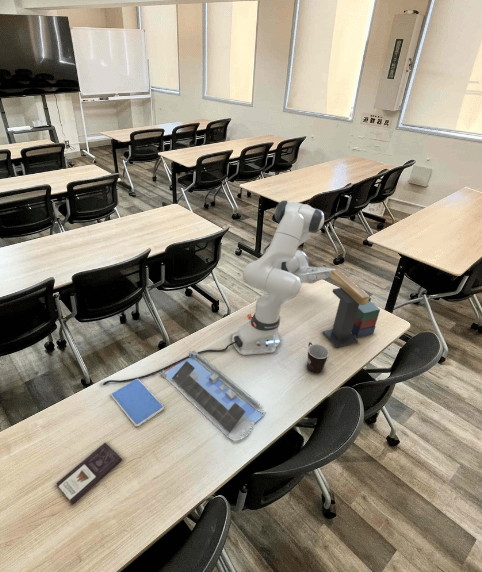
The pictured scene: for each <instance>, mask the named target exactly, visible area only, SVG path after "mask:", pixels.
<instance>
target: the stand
mask: <svg viewBox="0 0 482 572" xmlns="http://www.w3.org/2000/svg"><path fill="white" fill-rule="evenodd" d="M332 293H333V294H334V295H335V296H336V298H338V299H339V302H338V305H337V309H336V313H335V318H334V321H333V325H332V328H331V329H326V330H323V331H322V334H323V336H324V337H325V338H326V339H327V340H328V341H329V342H330V344H331V345H332V346H333V347H334V348H335V349H339V348H342V347H347V346H351V345H355V344H358V343H359V340H358V338H356V337H355V336H354V335H353V334H352V333H351V332H352V328H353V325H354V321H355V318H356V314H357V311H358V307H359V304H358V303H357V302H356V301H355V300H354V299H353V298H352V297H351V296H350V295H349V294H347V293H346V292H345V291H344V290H343V289H342V288H341V287H338V288H337V287H336V288H332ZM371 300H372V298H371V297H369V301H371Z"/></svg>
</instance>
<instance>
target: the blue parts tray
mask: <svg viewBox="0 0 482 572" xmlns="http://www.w3.org/2000/svg"><path fill="white" fill-rule="evenodd" d="M197 352H198V351H196V350H189V352H188V356H189V358H187V359H185V360H183V361H181V362H179V363H176V364H174V365H172V366H171V367H169V369H168V368H167V370H165V369H164V370H162V371H160V373H161V377H162V378H164V379H166V380H167V381H168V382H169V384H171V385H172V386H173V387H174V388H175V389H176V390H177V391H178V392H179V393H180V394H181V395H182V396H183V397H184V398H186V400H188V401H189V402H190V403H191V404H192V405H193V406H194V407H195V408H196V409H197V410H198V411H199V412H200V413H201V414H202V415H203V416H204V417H206V418H207V420H209V422H211V424H213V425H214V426H215V427H216V428H217V429H218V430H219V431H220V432H221V433H223V435H224V436H226V437H227V438H228V439H230V440H232V441H233V442H237V441H240V440H243V439H245V438H247V437H248V436H249V435H250V434H251V433H252V431H253V429H254V427H255V424H256V422H258V421H259V420H260V419H261V418H262V417H264V415H266V414H267V412H266V411H265V410H263V409H261V408H260V405H261V403H260V402H258V400H256V399H255V398H254V397H252V396H251V394H249V393H248V392H246V391H245V390H244V389H243V388H241V387H240V386H239V385H237V383H235V382H234V381H233V380H231V379H230V378H229V377H228V376H226V374H224V373H223V372H222V371H221V370H219V369H218V368H217V367H216V366H214V365H213V364H212V363H210V361H208V360H206V358H204V357H203V356H202V355H201V354H198V353H197Z"/></svg>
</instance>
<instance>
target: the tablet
mask: <svg viewBox="0 0 482 572" xmlns="http://www.w3.org/2000/svg"><path fill="white" fill-rule="evenodd" d="M110 397H111V398H112V399H113V400H114V401H115V403H116V404H117V405H118V407H119V408H120V409H121V410H122V411H123V413H124V414H125V415H126V417H127V418H128V419H129V420H130V422H131V423H132V424H133V425H134V426H135V427H136V428H137V427H140V426H141V425H144V424H145V423H146V422H148V421H149V420H151V419H153V418H154V417H155V416H157V415H158V414H159V413H161V411H163V410H164V409H165V406H164V405H163V403H161V402H160V400H159V399H158V398H157V397H156V396H155V395H154V394H153V393H152V392H151V390H150V389H149V388H148V387H147V385H145V384H144V383H143V382H142V381H141V380H140V379H135V380H132V381H129V382H128V383H126V384H125V385H123V386H122V387H120V388H118V389H116V390H114V391H113V392H111V394H110Z"/></svg>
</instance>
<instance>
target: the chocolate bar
mask: <svg viewBox="0 0 482 572" xmlns="http://www.w3.org/2000/svg"><path fill="white" fill-rule="evenodd" d="M122 461H123V458H121V456H120V455H118V454H117V452H116V451H114V450H113V449H112V447H111V446H110V445H108V444H107V443H106V442H104V443H103V444H102V445H100V446H99V447H98V448H97V449H96V450H94V451H93V452H92V453H91V454H90V455H88V456H87V457H86V458H85V459H84V460H83V461H81V462H80V463H78V465H76V466H75V467H74V468H73V469H71V470H70V471H69V472H68V473H67V474H66V475H65V476H63V477H61V479H59V480H58V481H57V482H56V486H57V487H58V488H59V489H60V490H61V493H63V494H64V495H65V497H66V498H67V499H68V501H70V503H71V504H72V505H75V503H77V502H78V501H79V500H80V499H81V498H82V497H83V496H84V495H85V494H86V493H88V492H89V491H90V490H91V489H92V488H93V487H95V485H96V484H98V483H99V482H100V481H101V480H102V479H103V478H104V477H105V476H106V475H107V474H108V473H110V472H111V471H112V470H114V468H116V467H117V466H118V465H119V464H120V463H121V462H122Z"/></svg>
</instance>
